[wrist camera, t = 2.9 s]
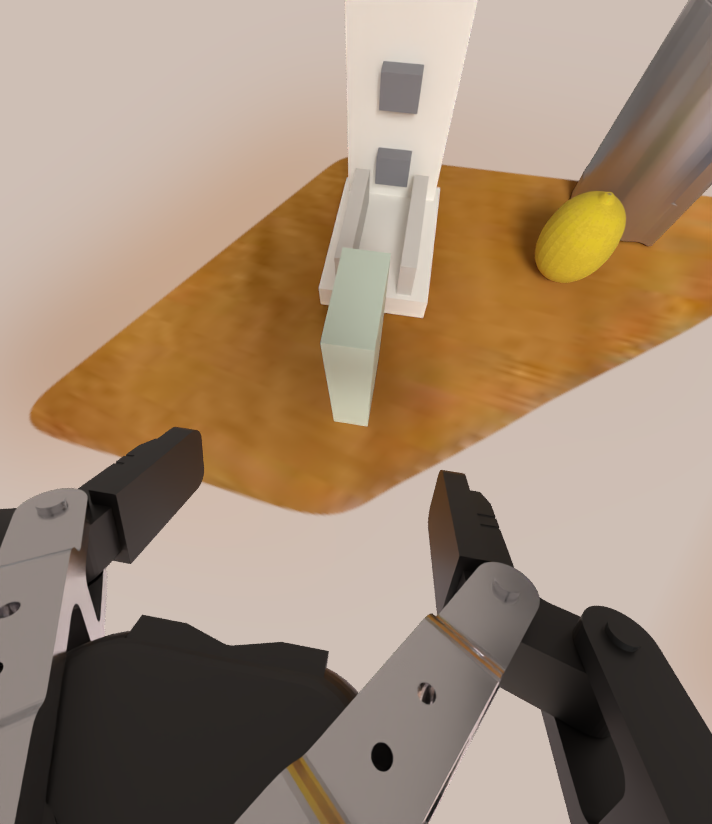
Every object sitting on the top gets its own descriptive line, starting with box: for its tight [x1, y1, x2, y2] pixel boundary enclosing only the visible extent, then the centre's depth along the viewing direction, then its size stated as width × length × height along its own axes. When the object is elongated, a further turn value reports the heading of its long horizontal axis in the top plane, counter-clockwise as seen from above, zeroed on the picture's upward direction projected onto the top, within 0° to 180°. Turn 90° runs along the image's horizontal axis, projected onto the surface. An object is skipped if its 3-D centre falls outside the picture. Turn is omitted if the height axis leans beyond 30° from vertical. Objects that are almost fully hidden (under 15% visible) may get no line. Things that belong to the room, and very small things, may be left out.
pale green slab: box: [320, 247, 391, 426], centre depth 23 cm, size 7×3×11 cm, turn 170°
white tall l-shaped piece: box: [319, 0, 478, 318], centre depth 21 cm, size 14×9×24 cm, turn 170°
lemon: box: [535, 191, 626, 283], centre depth 28 cm, size 6×6×8 cm
